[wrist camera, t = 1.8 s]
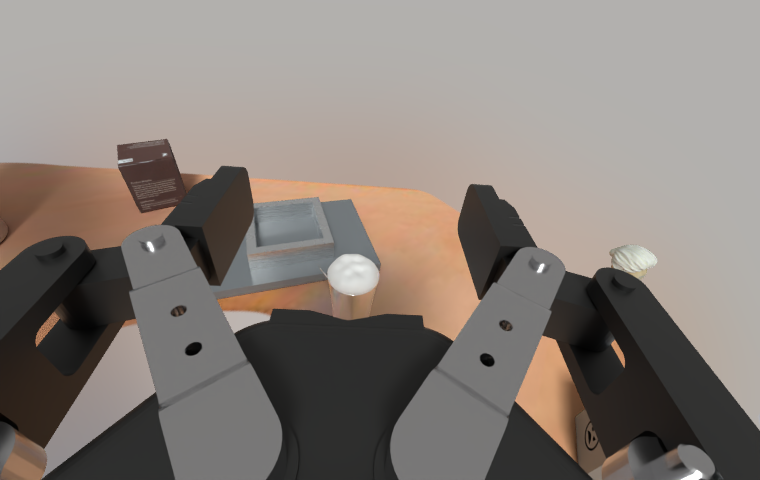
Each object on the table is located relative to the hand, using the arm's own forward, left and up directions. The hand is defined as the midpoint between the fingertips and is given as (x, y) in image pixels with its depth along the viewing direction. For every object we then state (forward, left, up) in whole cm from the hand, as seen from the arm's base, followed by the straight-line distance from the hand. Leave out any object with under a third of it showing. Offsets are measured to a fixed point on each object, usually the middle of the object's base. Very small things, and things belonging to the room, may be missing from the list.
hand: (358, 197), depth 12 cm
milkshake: (+3, +9, -23) cm, 25 cm away
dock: (-1, +23, -23) cm, 32 cm away
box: (-17, +37, -23) cm, 47 cm away
